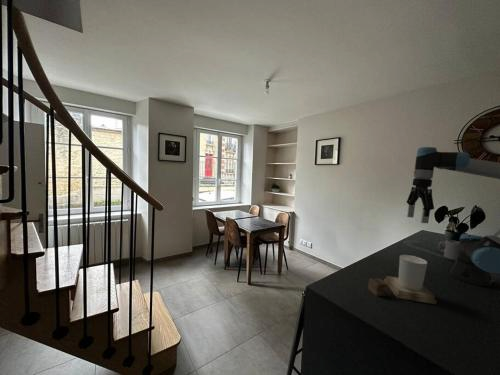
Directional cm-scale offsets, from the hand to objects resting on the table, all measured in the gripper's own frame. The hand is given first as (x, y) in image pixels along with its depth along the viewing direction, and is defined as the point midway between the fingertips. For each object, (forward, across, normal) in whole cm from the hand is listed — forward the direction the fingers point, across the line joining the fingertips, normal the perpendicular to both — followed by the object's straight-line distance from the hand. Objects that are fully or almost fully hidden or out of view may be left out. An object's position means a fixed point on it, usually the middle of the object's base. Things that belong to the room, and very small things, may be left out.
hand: (416, 220), depth 112 cm
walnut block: (+29, +26, -24) cm, 46 cm away
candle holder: (+26, +21, -10) cm, 35 cm away
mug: (+29, -38, +40) cm, 62 cm away
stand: (+29, +21, -10) cm, 37 cm away
